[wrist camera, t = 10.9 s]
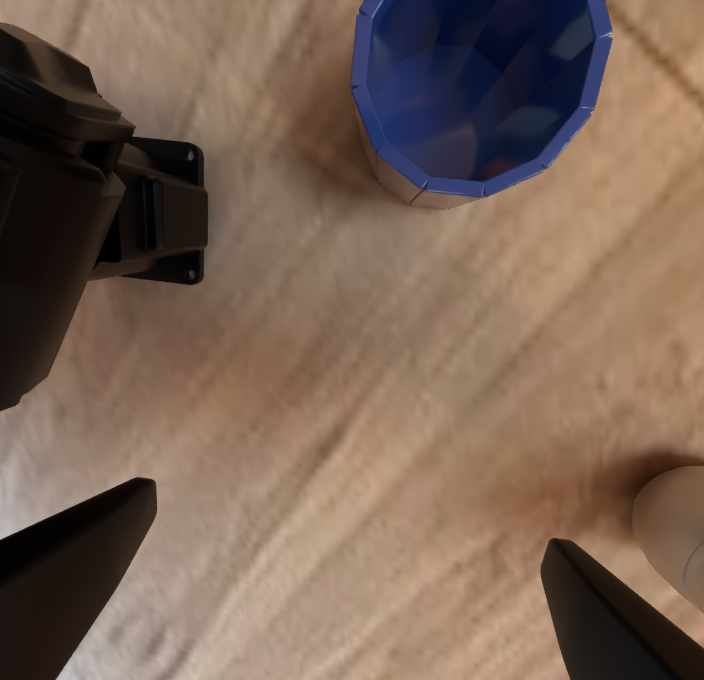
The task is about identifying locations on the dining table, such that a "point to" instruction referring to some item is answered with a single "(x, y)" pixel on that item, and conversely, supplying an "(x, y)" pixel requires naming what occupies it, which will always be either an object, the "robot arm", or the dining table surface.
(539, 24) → the mug
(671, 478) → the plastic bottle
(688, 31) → the dining table surface
